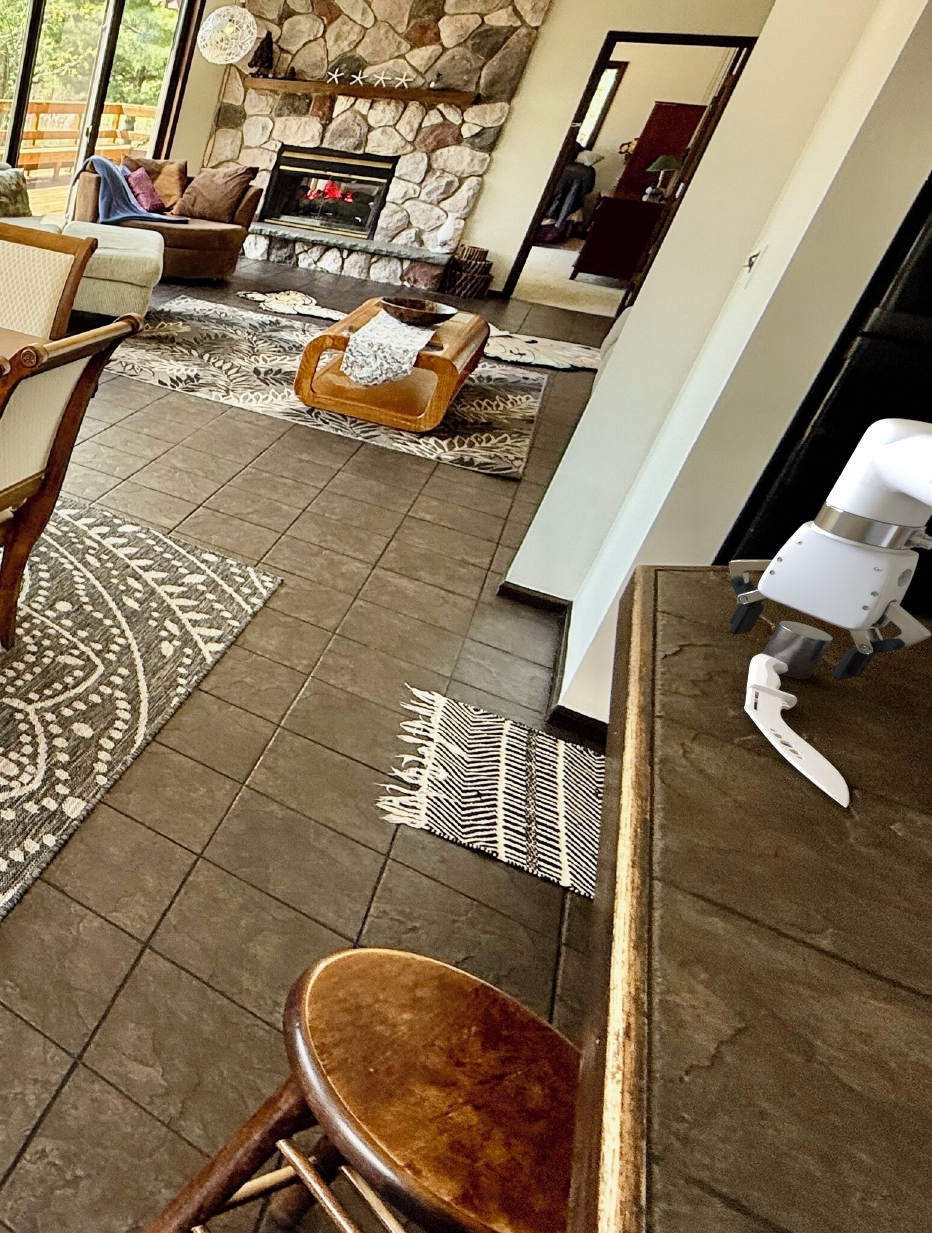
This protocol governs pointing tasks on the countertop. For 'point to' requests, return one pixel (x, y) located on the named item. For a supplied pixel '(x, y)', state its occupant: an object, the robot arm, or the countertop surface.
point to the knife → (771, 724)
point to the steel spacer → (798, 648)
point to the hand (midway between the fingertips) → (788, 654)
